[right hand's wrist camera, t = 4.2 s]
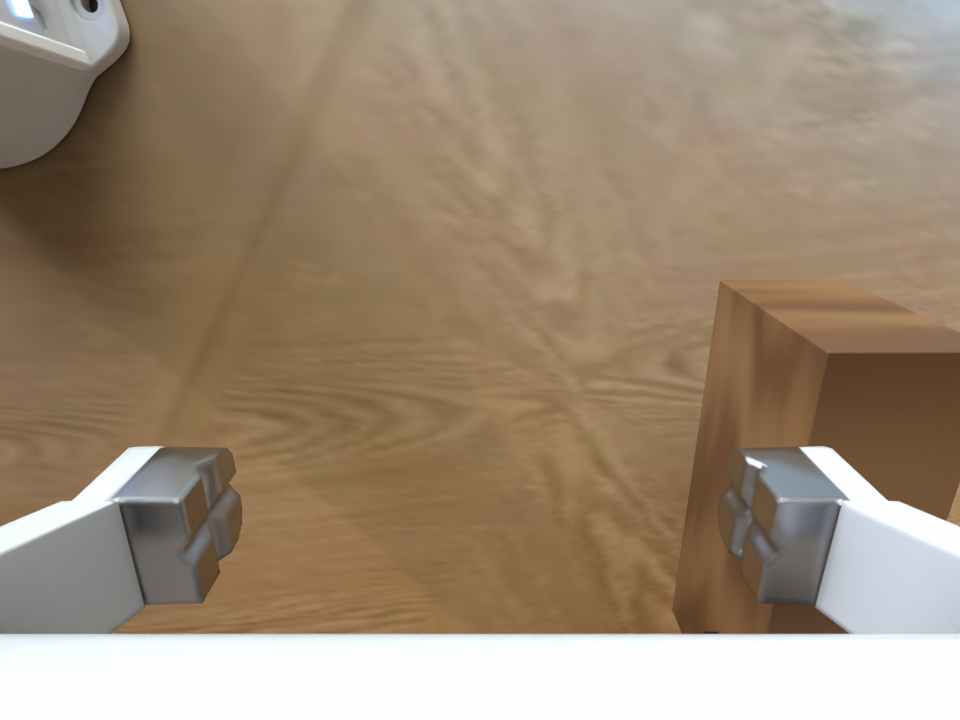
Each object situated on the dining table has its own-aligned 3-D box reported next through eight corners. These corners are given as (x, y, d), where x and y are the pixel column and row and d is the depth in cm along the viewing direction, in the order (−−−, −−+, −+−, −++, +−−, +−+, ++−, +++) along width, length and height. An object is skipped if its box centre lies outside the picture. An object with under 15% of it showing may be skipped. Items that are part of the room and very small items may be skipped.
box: (719, 279, 31) (827, 351, 22) (841, 279, 31) (1003, 351, 22) (672, 609, 39) (735, 770, 30) (769, 609, 39) (864, 770, 30)
